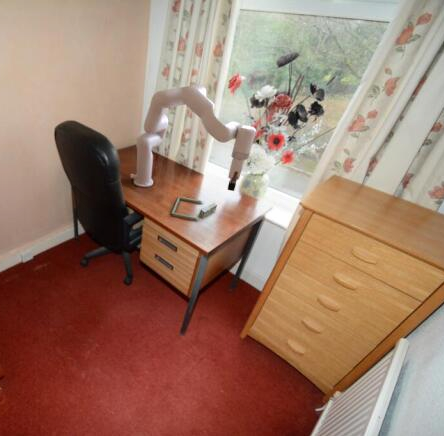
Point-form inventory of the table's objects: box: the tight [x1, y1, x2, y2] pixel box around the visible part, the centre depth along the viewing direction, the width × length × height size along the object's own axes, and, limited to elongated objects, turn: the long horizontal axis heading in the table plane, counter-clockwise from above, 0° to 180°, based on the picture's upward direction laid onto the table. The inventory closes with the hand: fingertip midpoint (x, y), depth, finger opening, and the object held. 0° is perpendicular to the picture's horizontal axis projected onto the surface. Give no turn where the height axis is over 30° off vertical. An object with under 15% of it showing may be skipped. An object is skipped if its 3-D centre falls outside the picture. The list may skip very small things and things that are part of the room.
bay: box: [170, 196, 203, 222], centre depth 151 cm, size 14×19×2 cm
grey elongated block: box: [198, 202, 218, 219], centre depth 147 cm, size 12×3×4 cm, turn 132°
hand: (230, 188), depth 136 cm, fingers closed
